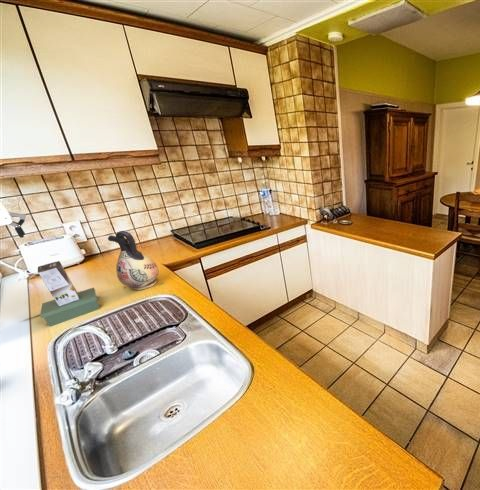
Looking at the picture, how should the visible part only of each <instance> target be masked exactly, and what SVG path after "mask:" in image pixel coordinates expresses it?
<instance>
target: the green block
mask: <svg viewBox="0 0 480 490" xmlns="http://www.w3.org/2000/svg"><path fill="white" fill-rule="evenodd" d="M77 293H78V296H79V300H76V301H73V302H70V303H67V304H64V305H61V306H58V304H57V302H56V301H55V299H52V300H49V301H45V302H43V303H42V304H41V308H40V312H39V316H40V317H41V319H44V320H45V322H46V323H47V324H48V326H49V327H52V326H55V325H58V324H61V323H63V322H66V321H69V320H72V319H75V318H78V317H80V316H83V315H87V314H89V313H93V312H95V311H98V310H100V308H101V307H100V305H99V304H98V302H97V301H99V297H98V295H97V292H96V289H95V287H91V288H90V287H89V288H88V289H84V290H81V291H77Z"/></svg>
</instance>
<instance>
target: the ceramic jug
mask: <svg viewBox="0 0 480 490" xmlns="http://www.w3.org/2000/svg"><path fill="white" fill-rule="evenodd" d="M107 241H108V242H114V243H116V244H118V245H119V248H120V252H119V255H118V258H117V261H116V266H115V270H116V271H115V272H116V276H117V279H118V281H119V283H121V284H122V285H124V286H126V287H129V288H131V289H133V290H135V291H140V290H146V289H148V288H151V287H153V286H154V285H155V284H156V283H157V278H158V276H159V266H158V264H156V262H155V260H154V259H153V258H151V257H150V256H149V255H147V254H146V253H144V252H142V251H140V250H139V249H138V248H137V244H136V241H135V238H134V236H133V234H131V233H130V232H129V231H125V230H120V231H117V232H116V234H115V235H112V234H111V235H109V236H108V237H107Z"/></svg>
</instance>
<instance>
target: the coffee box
mask: <svg viewBox="0 0 480 490" xmlns="http://www.w3.org/2000/svg"><path fill="white" fill-rule="evenodd" d="M37 273H38V275H39V277H40V278H41V280H42V281H43V283H44V285H45V286H46V288H47V290H48V291H49V293H50V295H51V296H52V298H53V300H55V301H56V302H57V304H58V306H61V305H64V304H67V303H70V302H73V301H76V300H79V296H78V291H77V288H76V287H75V285H74V284H73V282H72V280H71V279H70V277H69V275H68V273H67V271H66V270H65V268H64V266H63V264H62V263H61V261H60V260H57V261H53V262H50V263H46V264H43V265H38V266H37Z"/></svg>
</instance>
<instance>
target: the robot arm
mask: <svg viewBox="0 0 480 490" xmlns="http://www.w3.org/2000/svg"><path fill="white" fill-rule="evenodd" d="M13 217H14V218H15V217H16V218H19V221H18V222H17V221H14V218H13ZM26 217H27V215H26V213H20V212H13V211H9V210H8V209H7V208H6V206H4V204H3V203H2V202H1V201H0V227H4V226H12V227H14V230H15V232H16V233H17V235H18V237H19V238H20V239H22V238H24V237H25V235H26V233H25V231H24V229H23V227H22V226H23V225H24V223H25V222H26Z"/></svg>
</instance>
